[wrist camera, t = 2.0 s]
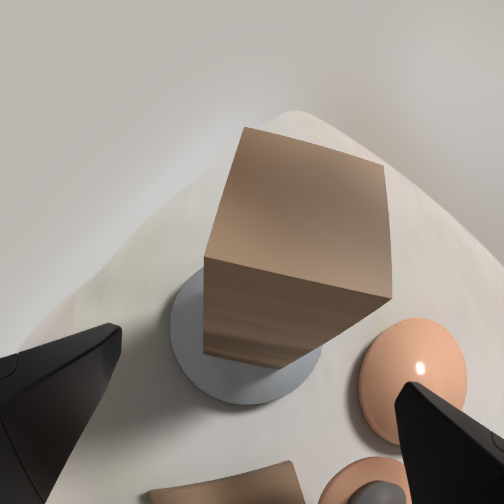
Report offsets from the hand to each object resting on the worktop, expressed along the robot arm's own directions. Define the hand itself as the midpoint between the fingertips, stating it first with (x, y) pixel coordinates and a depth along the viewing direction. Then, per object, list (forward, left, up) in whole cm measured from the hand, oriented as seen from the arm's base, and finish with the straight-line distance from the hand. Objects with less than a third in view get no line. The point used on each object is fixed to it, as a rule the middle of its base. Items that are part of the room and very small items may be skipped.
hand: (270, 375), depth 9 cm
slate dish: (+4, +2, -12) cm, 12 cm away
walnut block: (+4, +2, -10) cm, 11 cm away
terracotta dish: (+8, -11, -12) cm, 18 cm away
